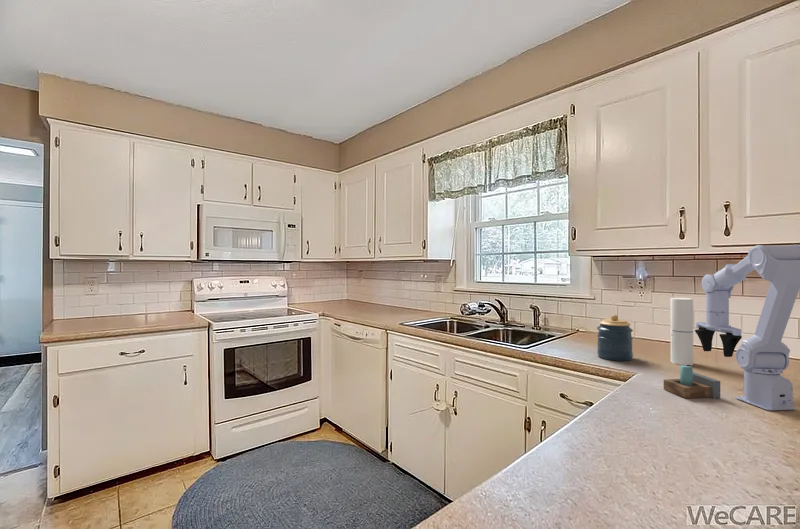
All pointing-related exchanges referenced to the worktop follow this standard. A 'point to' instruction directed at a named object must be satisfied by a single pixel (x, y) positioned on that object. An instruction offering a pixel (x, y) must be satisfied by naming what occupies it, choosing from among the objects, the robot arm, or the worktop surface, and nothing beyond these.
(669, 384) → the brown square frame
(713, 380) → the board
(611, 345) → the canister
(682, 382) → the dowel
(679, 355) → the cylindrical container
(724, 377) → the worktop surface
